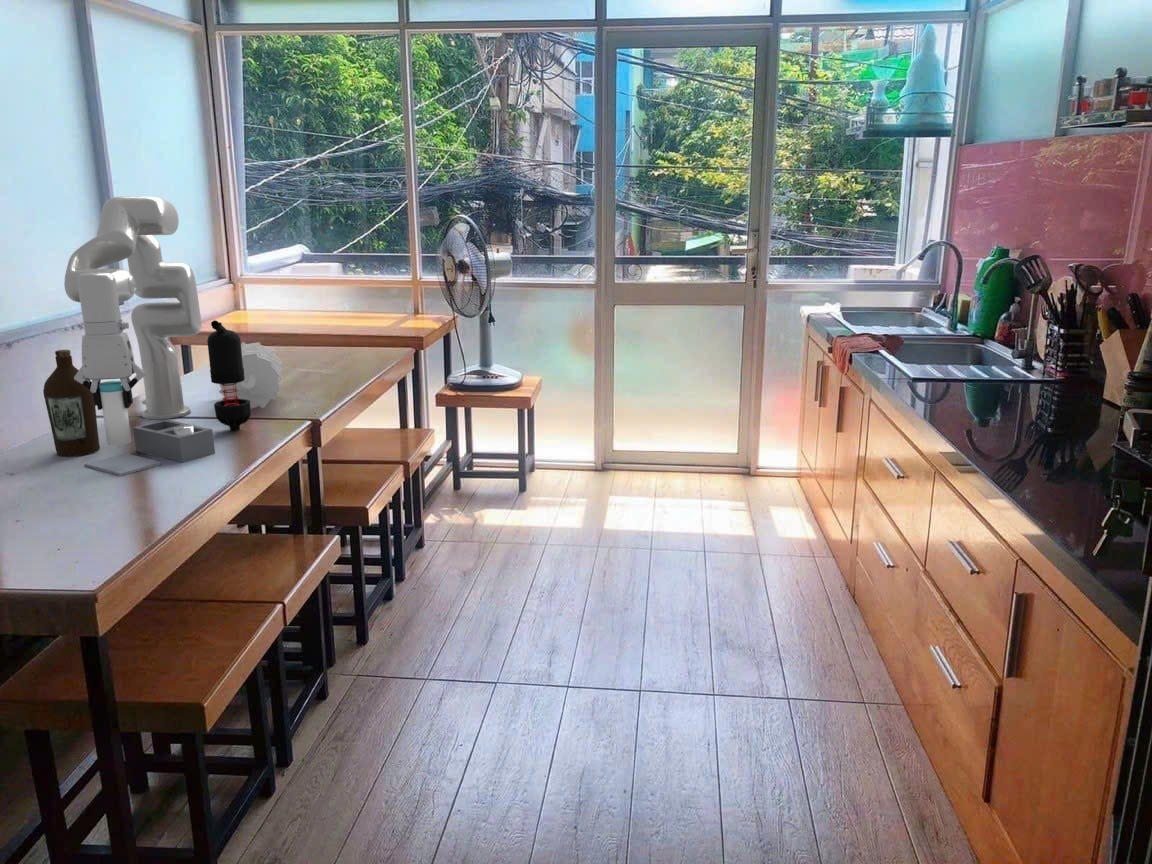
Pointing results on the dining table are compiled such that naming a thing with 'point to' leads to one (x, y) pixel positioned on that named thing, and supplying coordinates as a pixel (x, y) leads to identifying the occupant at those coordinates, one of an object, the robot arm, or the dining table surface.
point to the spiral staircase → (257, 376)
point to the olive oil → (70, 410)
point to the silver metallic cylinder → (183, 430)
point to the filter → (227, 375)
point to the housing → (173, 441)
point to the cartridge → (114, 413)
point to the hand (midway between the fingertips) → (114, 406)
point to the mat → (122, 464)
